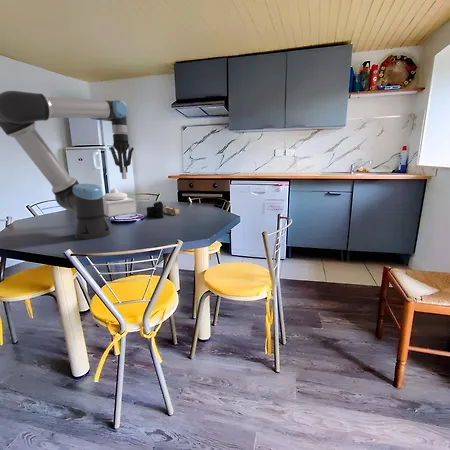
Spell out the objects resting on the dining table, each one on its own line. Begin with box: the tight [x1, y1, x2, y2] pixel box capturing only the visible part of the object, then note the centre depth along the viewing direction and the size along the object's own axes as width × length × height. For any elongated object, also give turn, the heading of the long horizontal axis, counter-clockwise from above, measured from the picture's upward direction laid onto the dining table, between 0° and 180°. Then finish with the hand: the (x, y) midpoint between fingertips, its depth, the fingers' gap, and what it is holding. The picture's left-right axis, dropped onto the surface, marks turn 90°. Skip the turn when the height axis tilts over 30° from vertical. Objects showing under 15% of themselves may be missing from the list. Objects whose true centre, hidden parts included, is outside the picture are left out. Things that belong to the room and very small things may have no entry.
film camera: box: [146, 201, 164, 220], centre depth 168 cm, size 15×10×9 cm, turn 16°
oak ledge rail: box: [163, 204, 180, 217], centre depth 178 cm, size 18×2×4 cm, turn 41°
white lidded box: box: [103, 188, 137, 218], centre depth 181 cm, size 18×18×16 cm
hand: (124, 178), depth 155 cm, fingers closed
